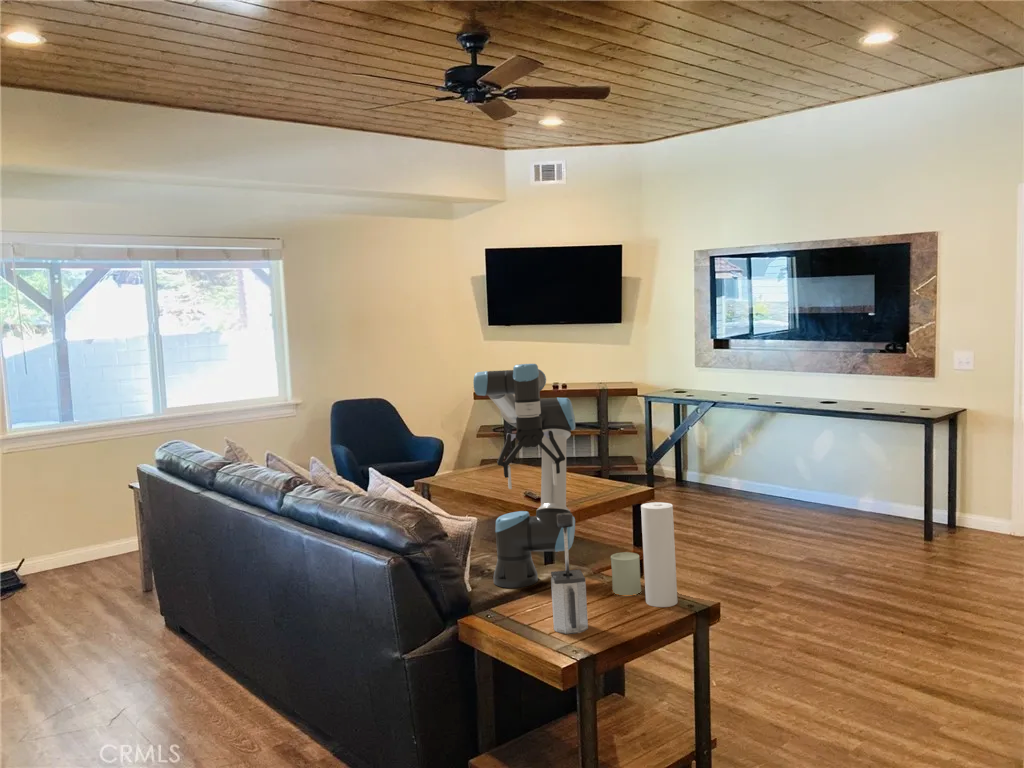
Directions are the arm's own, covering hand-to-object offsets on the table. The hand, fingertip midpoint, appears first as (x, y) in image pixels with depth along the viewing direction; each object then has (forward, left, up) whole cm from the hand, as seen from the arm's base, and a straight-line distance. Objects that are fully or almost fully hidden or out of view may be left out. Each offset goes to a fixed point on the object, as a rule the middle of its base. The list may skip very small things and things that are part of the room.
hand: (532, 486), depth 228 cm
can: (-11, +29, -38) cm, 49 cm away
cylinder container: (+1, +37, -38) cm, 53 cm away
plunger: (+16, +7, -26) cm, 31 cm away
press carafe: (+17, +7, -38) cm, 42 cm away
